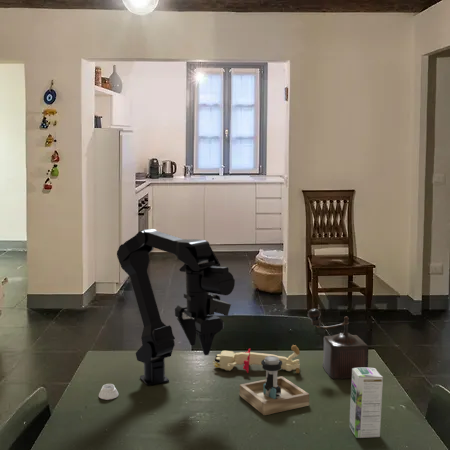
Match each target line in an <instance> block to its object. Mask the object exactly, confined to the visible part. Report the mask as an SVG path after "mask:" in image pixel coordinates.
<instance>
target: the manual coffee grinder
mask: <svg viewBox="0 0 450 450" xmlns="http://www.w3.org/2000/svg"><path fill="white" fill-rule="evenodd" d="M321 315H322V314H321V311H320V309H318V308H311V309H309V310H307V317H308V318H309V320H310V321H311V325H312V326H315V327H316V328H317V329H320V330H332V329H338V328H341V327H343V326H344V330H343V329H342V330H340V332H339V333H338V334H333V335H323V360H322V367H323V369H324V371H325V373H326V374H327V375H328V376H329V377H330V378H332V380H352V368H360V367H368V368H369V345H368V344H367V343H366V342H365V341H364V340H363V339H361V337H359V336H358V335H357V334H351V333H350V332H348V328H349V327H348V325H349V323H350V321H349V317H348V316H344V318H343V319H344V321H343V322H342V323H339V324H334V325H328V326H322V325H321V324H322V322H321V320H320V317H321Z"/></svg>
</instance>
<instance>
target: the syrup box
mask: <svg viewBox="0 0 450 450" xmlns="http://www.w3.org/2000/svg"><path fill="white" fill-rule="evenodd" d="M383 381H384V376H383V375H381V373H380V372H379V371H378V370H377V368H375V367H369V366H368V367H360V368H352V379H351V386H350V401H349V402H350V405H349V429H350V430H351V432H352V434H353V435H354V437H355V439H364V438H367V439H368V438H380V436H381V424H382V423H381V422H382V402H383Z"/></svg>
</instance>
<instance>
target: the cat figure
mask: <svg viewBox="0 0 450 450" xmlns="http://www.w3.org/2000/svg"><path fill="white" fill-rule="evenodd" d="M290 349H291V351H292V354H290V355H289V356H288V357H286V356H281V355H276V354H270V353H262V352H252V351H251V348H248V349H247V351H245V352H244V351H243V352H242V351H239V352H234V351H233V350H222V351H221V352H220V353H219V354H216V355H215V358H214V360H213V362H212V365H214V367H215V368H219V369H221V370H225V371H229V372H230V371H231V370H233V368H234V367H236V366H237V365H239V366H242V365H243V366H242V367H243V368H242V369H243V370H245V372H246V373H247V374H249V371H250V370H249V368H250V366H253V365H255V366H256V365H258V366H262V364H261V361H262V360H264V359H265V357H267V356H276V357H278V358H279V360H281V361H282V365H281V370H285V371H286V372H291V371H293V370H295V374H300V369H301V368H300V366H301V364H300V359H296V358H297V357H298V356H300V354H301V353H300V349H299V347H298V346H297V345H296V344H295V345H294V344H292V345H291V348H290ZM294 358H295V359H294ZM293 359H294V360H293Z"/></svg>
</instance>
